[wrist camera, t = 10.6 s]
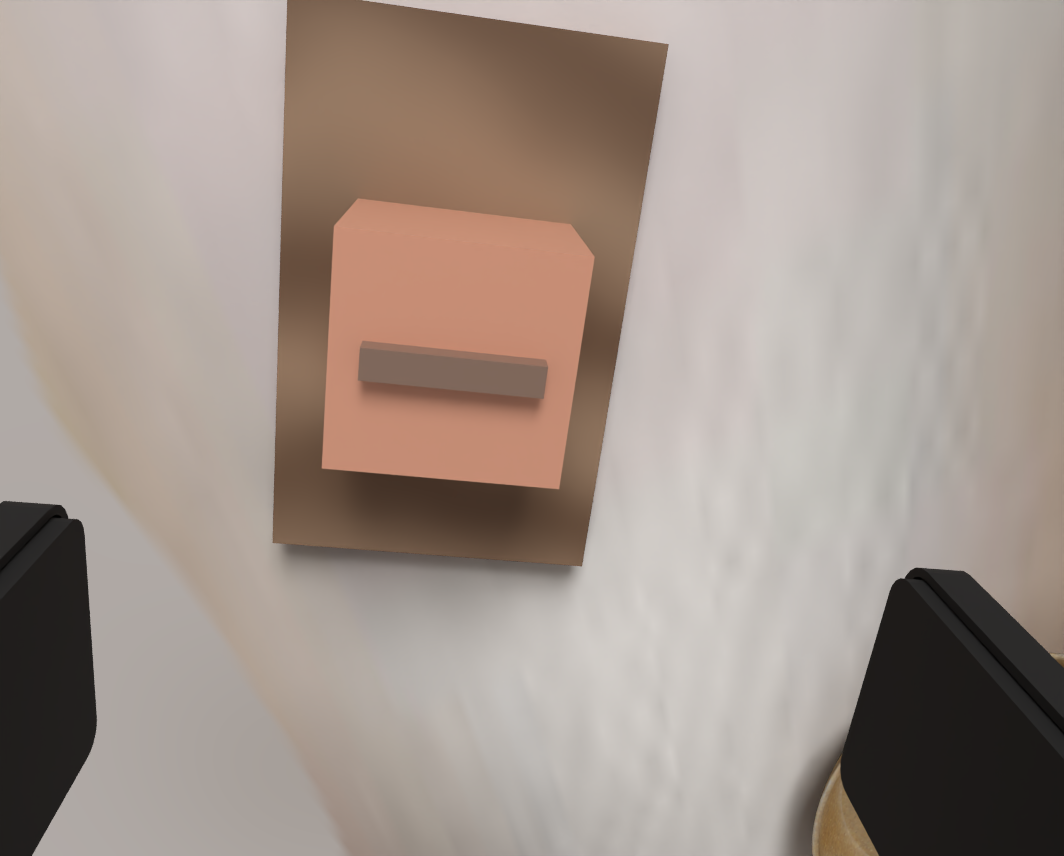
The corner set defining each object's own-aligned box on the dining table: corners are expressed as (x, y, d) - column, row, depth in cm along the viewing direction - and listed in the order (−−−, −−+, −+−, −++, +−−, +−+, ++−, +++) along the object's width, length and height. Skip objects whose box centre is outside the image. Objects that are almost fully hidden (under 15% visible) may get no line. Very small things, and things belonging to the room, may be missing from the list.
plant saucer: (1204, 628, 35) (1260, 670, 32) (1073, 911, 40) (1112, 965, 37) (841, 599, 33) (871, 640, 31) (753, 897, 38) (773, 953, 36)
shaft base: (576, 544, 31) (596, 626, 26) (281, 521, 30) (248, 602, 25) (657, 45, 25) (700, 39, 21) (297, -6, 24) (258, -25, 20)
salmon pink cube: (543, 420, 28) (561, 499, 23) (346, 401, 27) (318, 478, 22) (570, 224, 26) (598, 261, 20) (357, 198, 25) (330, 230, 20)
